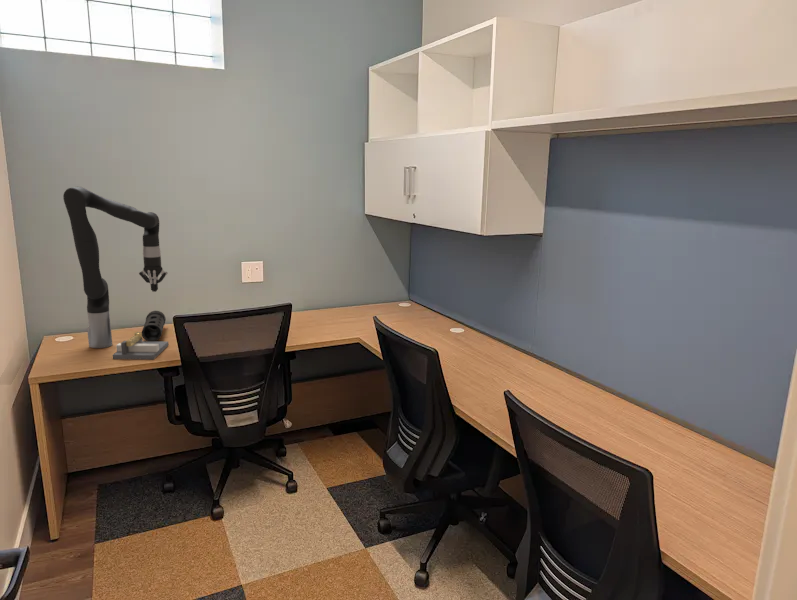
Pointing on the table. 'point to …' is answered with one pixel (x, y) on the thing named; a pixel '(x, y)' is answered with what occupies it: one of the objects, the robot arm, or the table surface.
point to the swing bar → (134, 339)
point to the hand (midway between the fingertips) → (154, 291)
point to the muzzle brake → (153, 326)
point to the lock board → (142, 354)
